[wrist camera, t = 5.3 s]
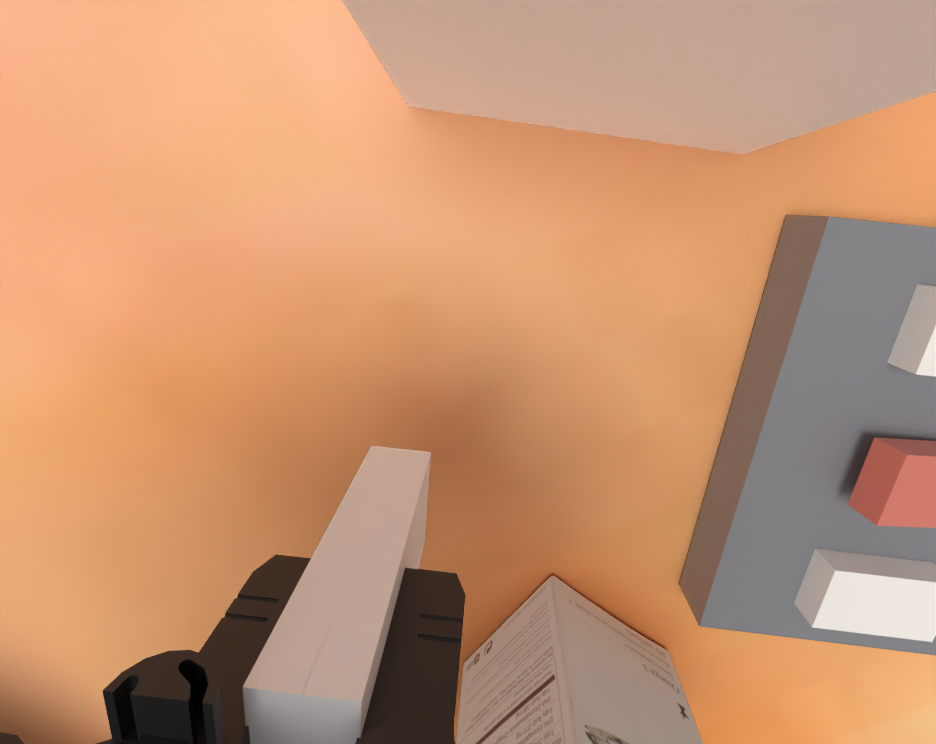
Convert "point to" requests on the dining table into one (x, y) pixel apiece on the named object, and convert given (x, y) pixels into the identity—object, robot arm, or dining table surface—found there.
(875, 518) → the block
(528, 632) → the supplement box
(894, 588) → the breaker panel
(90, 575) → the dining table surface
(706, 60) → the milk
